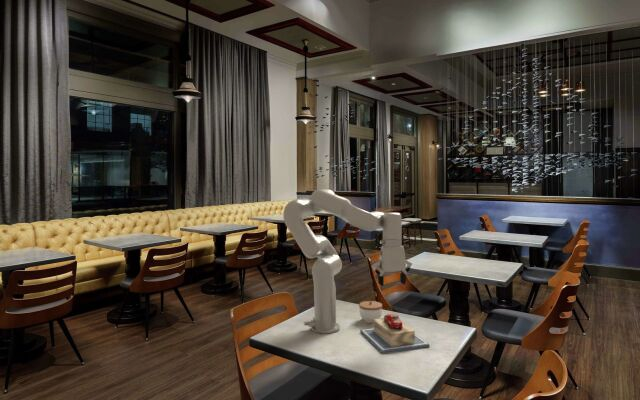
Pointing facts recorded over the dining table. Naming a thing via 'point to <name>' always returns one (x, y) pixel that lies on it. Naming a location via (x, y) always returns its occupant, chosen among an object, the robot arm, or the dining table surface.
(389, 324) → the race car
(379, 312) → the lidded jar
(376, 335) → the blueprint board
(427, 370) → the dining table surface
